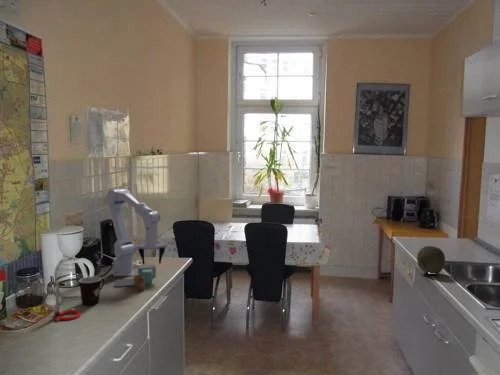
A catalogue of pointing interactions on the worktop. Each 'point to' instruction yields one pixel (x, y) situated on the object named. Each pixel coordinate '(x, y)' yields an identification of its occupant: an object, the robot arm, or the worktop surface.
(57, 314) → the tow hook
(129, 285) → the mat
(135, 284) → the walnut block
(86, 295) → the coffee mug
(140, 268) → the control box
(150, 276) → the teal block
